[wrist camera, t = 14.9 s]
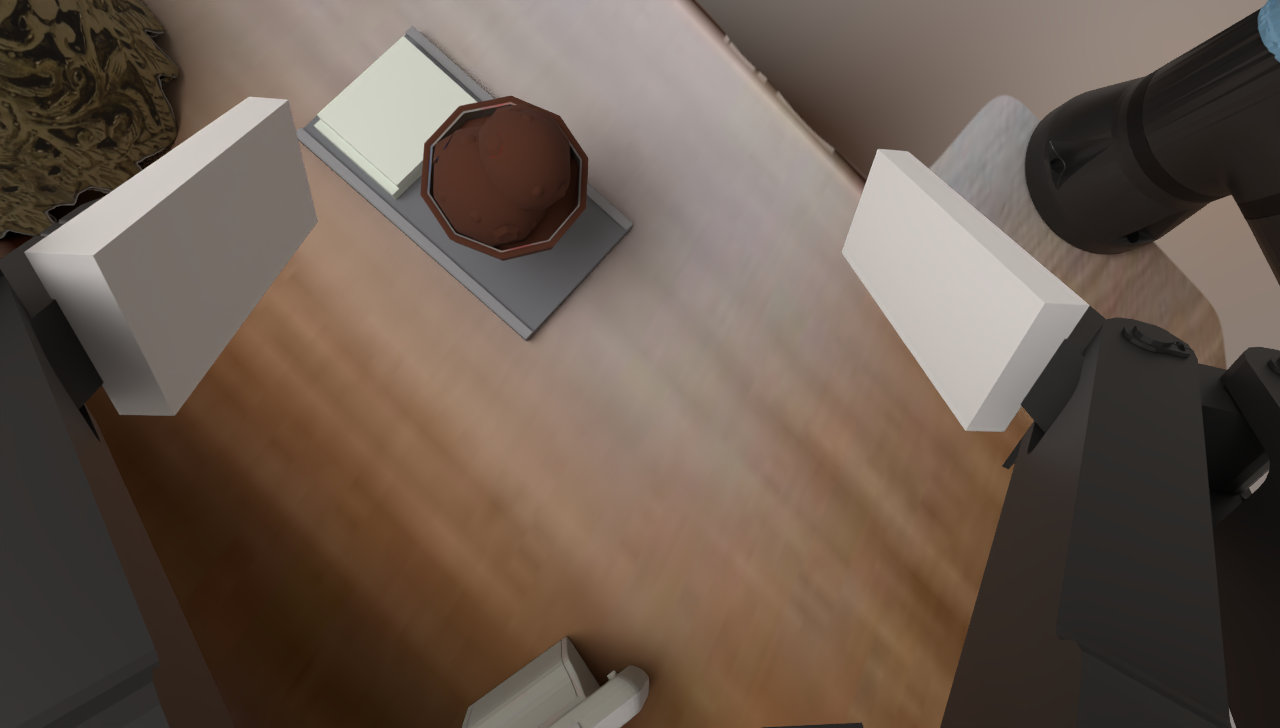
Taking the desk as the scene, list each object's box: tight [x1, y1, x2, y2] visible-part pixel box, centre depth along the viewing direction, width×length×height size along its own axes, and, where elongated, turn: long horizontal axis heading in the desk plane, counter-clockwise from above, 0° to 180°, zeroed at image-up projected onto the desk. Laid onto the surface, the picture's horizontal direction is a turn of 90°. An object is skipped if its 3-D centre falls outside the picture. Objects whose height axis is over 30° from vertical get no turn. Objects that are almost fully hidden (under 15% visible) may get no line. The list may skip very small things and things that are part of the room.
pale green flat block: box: [314, 36, 477, 199], centre depth 48 cm, size 8×10×2 cm
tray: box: [296, 26, 633, 341], centre depth 49 cm, size 24×13×1 cm, turn 49°
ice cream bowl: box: [420, 96, 588, 261], centre depth 42 cm, size 11×11×15 cm
